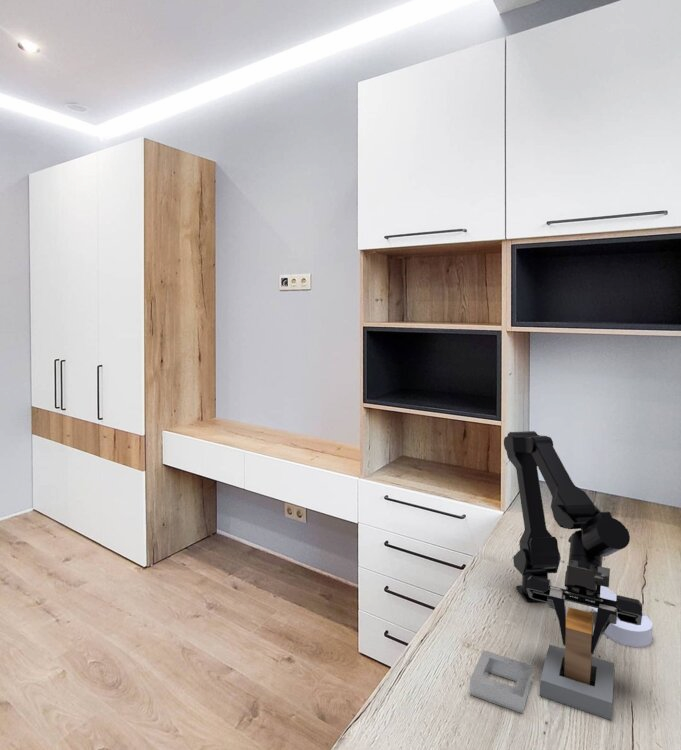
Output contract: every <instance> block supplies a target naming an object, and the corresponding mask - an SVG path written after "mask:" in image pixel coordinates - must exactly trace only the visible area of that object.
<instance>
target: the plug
mask: <svg viewBox="0 0 681 750" xmlns="http://www.w3.org/2000/svg"><path fill="white" fill-rule="evenodd" d="M567 608H568V609H567V611H566V637H565V646H564V649H565V669H564V672H563V674H564V675H563V677H565V678H569V679H572V680H575V681H578V682H581V683H584V684H588V685H591V682H592V681H591V663H592V657H593V654H591V642H592V637H593V632H594V612H590V611H585V610H583V609H578V608H573V607H570V606H568V607H567Z"/></svg>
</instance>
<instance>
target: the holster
mask: <svg viewBox="0 0 681 750" xmlns="http://www.w3.org/2000/svg"><path fill="white" fill-rule="evenodd" d="M489 674H492V675H496V676H499V677H501V678H505V679H508V680H510V681H513V682H515V686H511V685H509V684H506V683H504V682H500V681H497V680H494V679H492V678H488V677H489ZM469 679H470V680H469V696H473V697H476V698H479V699H481V700H484V701H486V702H490V703H492V704H495V705H497V706H500V707H502V708H506V709H508V710H511V711H514V712H517V713H519V714H523V713H524V710H525V706H526V703H527V699H528V695H529V693H530V689H531V685H532V682H533V664H530V663H526V662H522V661H520V660H516V659H513V658H510V657H507V656H503V655H501V654H497V653H494V652H490V651H488V650H486V649H485V650H484V649H483V650H482V652H481V654H480V657H479V658H478V661H477V663H476V665H475V668H474V670H473V672H472V674H471V676H470V678H469Z"/></svg>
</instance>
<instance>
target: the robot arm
mask: <svg viewBox="0 0 681 750" xmlns="http://www.w3.org/2000/svg"><path fill="white" fill-rule="evenodd" d="M503 447H504V449H505V452H506V455H507V459H508V460H509V462H511V464H512V466H514V467H515V471H516V478H517V484H518V490H519V491H518V492H519V496H520V497H519V498H520V506H521V513H522V517H523V526H524V531H523V532H522V535H521V537H520V539H519V550H518V551H517V552H516V553H515V555H513V557H512V559H513V560H512V561H513V566H514V568H515V569H516V570H517V571H518V572H519V573H520V575H521V585H516V589H517V591H518V592H519V594H520V595H521V596H522V597H523V599H524V600H525V601H526V602H527V603H530V602H531V603H532V602H533V603H535V602H536V603H537V602H544V603H548V607H549V608H550V609H553V610H554V611H555V614H556V617H557V620H558V624H559V628H560V629H559V630H560V634H561V639H562V645H563V646H564V647H565V637H566V616H567V608H566V607H567V606H566V602H571V603H574V604H579V605H582V606H587V607H590V608H591V607H595V608H598V610H597V612H596V619H595V623H594V626H593V636H592V642H591V654H592V655H594V654H595V651H596V649H597V647H598V645H599V643H600V641H601V638H602V636H603V634H605V633H604V632H605V630H606V629H607V627H608V626H609V624H616V623H617V617H618V618H619V620H620V621H623V622H627V623H631V624H635V625H641V620H642V613H643V604H642V602H641V601H640V600H639V599H637V598H631V597H627V596H625V595H624V596H623V595H619V594H616V595H617V597H616V601H613V600H609V599H604V598H600V591H601V586H604V587H606V588H609V587H610V578H611V577H610V573H611V570H610V569H611V568H609V567H604V566H603V558H605V557H609V556H611V555H612V554H615V553H618V552H619V551H622V549H625V548H626V547H628V546H629V544H630V540H631V537H630V532H629V530H628V528H627V527H626V526H625V525H624V524H623V523H622V522H621V521H620V520H618V519H616V518H614V517H613V516H612V513H611V512H610V511H601V510H600V509H599V508H598V507H597V506H596V505H595V503H594V502H593V500H592V499H591V498H590V497H589V496H588V493H587V492H585V491H584V490H582V489H581V488H580V487H577V486H576V485H575V483H574V482H573V480H572V479H571V476H570V474H569V473H568V471H567V469H566V468H565V466H564V464H563V462H562V460H561V458H560V456H559V454H558V453H557V452H556V449H555V448H554V441H553V439H552V437H550V436H548V435H540V434H538V433H537V432H536V431H535V430H531V431H528V430H527V431H509V432H508V433H507V435H506V436H505V437H504V439H503ZM538 470H539V472H540V474H541V476H542V479H543V480H544V482H545V485H546V486H547V488H548V490H549V492H550V495H551V501H550V502H551V503H550V509H551V511H552V516H553V519H554V521H555V522H556V523H557V525H558V527H560V528H563V529H565V530H566V529H567V530H575V531H574V532H573V533H572V534H571V535H570V536H569V538H568V540H567V541H568V543H570V544H569V553H568V555H569V556H568V564H567V565H566V571H565V576H564V587H565V588H561V587H557V586H554V585H552V582H551V579H549V574H557V573H558V569H559V567H560V563H561V559H562V557H561V553H560V550H559V545H558V544H559V543H558V539H557V538H556V536H553V535H552V534H551V533H550V532H549V530H548V529H547V525H546V524H547V523H546V517H545V510H544V504H543V498H542V489H541V485H540V479H539V472H538ZM587 600H588V601H587ZM591 601H592V602H591Z"/></svg>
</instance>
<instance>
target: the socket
mask: <svg viewBox="0 0 681 750" xmlns="http://www.w3.org/2000/svg"><path fill="white" fill-rule="evenodd" d="M564 669H565V647H563V648H562V647H560V646H556V645H553V644H548V649H547V652H546V656H545V661H544V664H543V668H542V673H541V676H540V680H539V696H540V697H542V698H545V699H548V700H551V701H554V702H557V703H560V704H563V705H565V706H569V707H572V708H575V709H577V710H581V711H583V712H586V713H588V714H592V715H595V716H598V717H602V718H604V719H607V720H610V721H612V718H613V705H614V704H613V702H614V681H615V680H614V679H615V662H612V661H609V660H605V659H601V658H599V657H595V656H592V663H591V681H590V682H594V685H591V684H590V685H588V684H584V683H581V682H578V681H575V680H572V679H569V678H565V677H564V676H563V673H564Z"/></svg>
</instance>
